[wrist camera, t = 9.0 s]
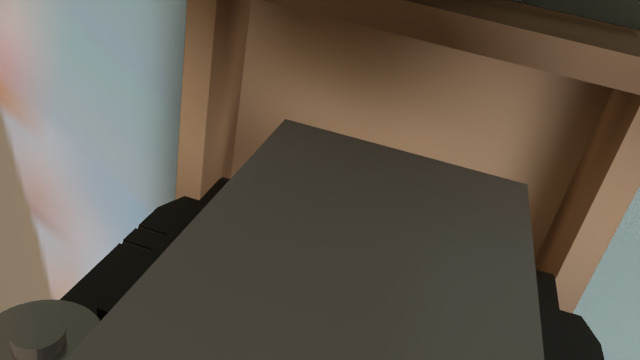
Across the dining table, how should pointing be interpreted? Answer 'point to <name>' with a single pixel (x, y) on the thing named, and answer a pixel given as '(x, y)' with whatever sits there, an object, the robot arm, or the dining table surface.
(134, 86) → the dining table surface
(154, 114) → the dining table surface
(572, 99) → the bin
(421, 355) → the grey rectangular block
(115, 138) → the dining table surface
